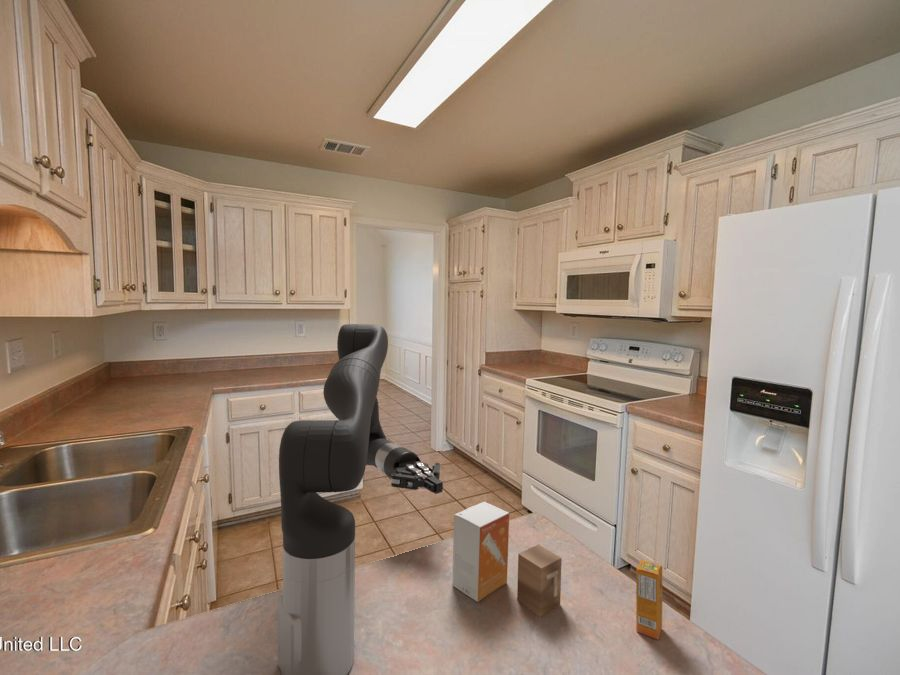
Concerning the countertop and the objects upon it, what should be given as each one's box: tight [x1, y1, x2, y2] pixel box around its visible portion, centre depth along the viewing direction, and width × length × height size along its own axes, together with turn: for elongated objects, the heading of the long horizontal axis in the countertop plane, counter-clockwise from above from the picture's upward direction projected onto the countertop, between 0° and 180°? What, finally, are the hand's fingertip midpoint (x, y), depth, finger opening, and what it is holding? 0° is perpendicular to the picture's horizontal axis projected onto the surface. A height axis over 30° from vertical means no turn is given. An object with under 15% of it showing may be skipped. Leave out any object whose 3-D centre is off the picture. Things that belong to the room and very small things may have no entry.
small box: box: [451, 501, 510, 603], centre depth 73 cm, size 8×6×13 cm
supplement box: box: [635, 559, 663, 640], centre depth 63 cm, size 3×3×10 cm
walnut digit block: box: [516, 544, 563, 618], centre depth 69 cm, size 5×5×8 cm
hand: (439, 488), depth 84 cm, fingers closed
